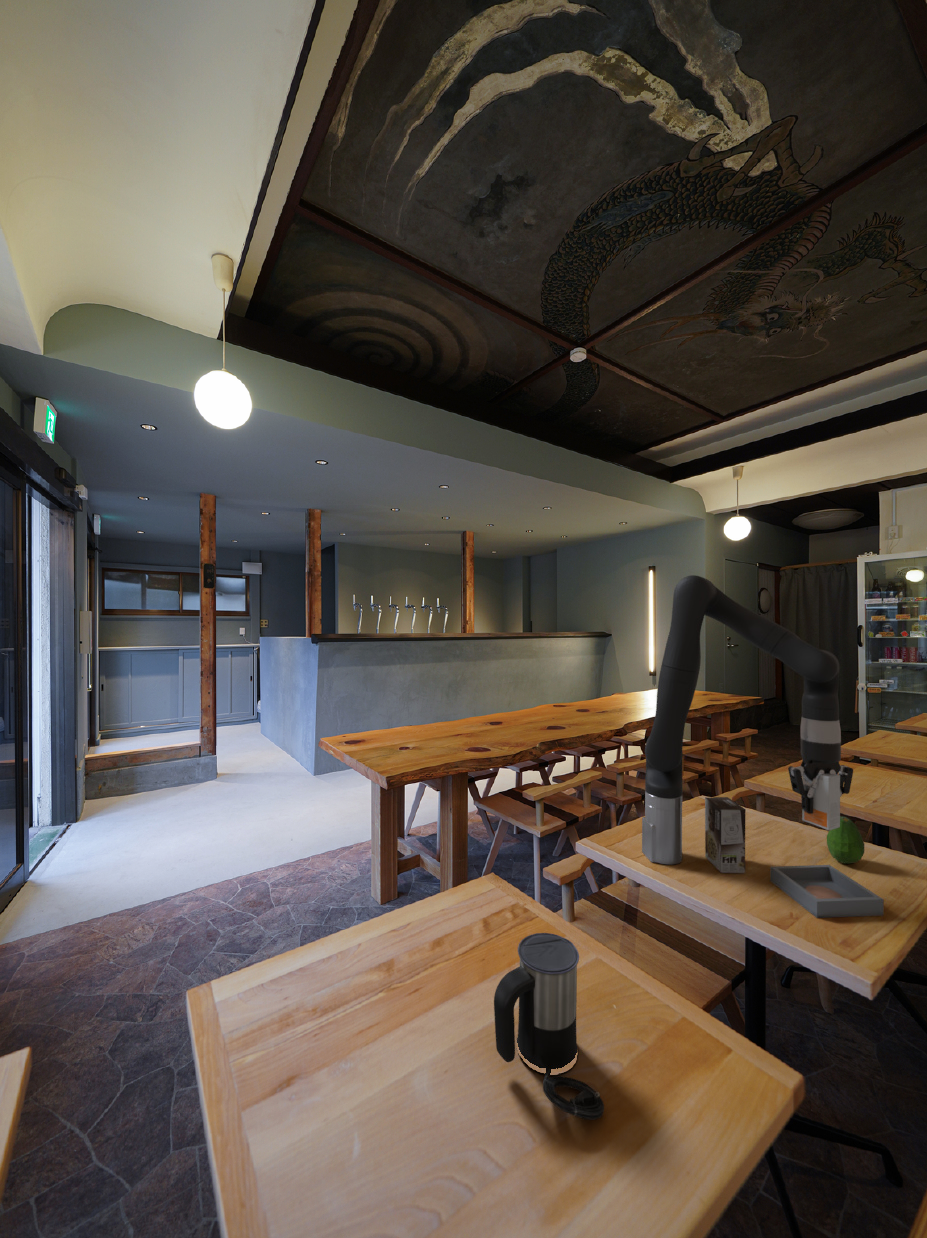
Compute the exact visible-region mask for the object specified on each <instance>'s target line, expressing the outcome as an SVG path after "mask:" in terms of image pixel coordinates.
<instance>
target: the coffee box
mask: <svg viewBox="0 0 927 1238" xmlns="http://www.w3.org/2000/svg"><path fill="white" fill-rule="evenodd" d="M704 804H705V805H704V831H705V833H704V836H705V837H704V839H705V841H704V844H705V845H704V846H705V847H704V852H705V854H704V856H705V858H706V859H707V860H708V861H709V863H711V864H712V865H713V866H714V867H715V868H716V869H717V871H719V872H720V873H721V874H723V873H724V874H725V873H726V874H745V873H746V813H747V812H746V808H744V807H743V806H741V805H740V804H738V803H737V802H735V801H734V800H732V798H730V797H727V796H714V797H705V798H704Z"/></svg>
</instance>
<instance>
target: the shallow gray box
mask: <svg viewBox="0 0 927 1238" xmlns="http://www.w3.org/2000/svg"><path fill="white" fill-rule="evenodd" d="M769 868H770V872H769V875H770V878H769V880H770V882H771V883H772V884H774V885H775V886H776V887H778V889H780V890H781V891H782V892H784V893H785V894H786V895H787V896H789V897H790V898H791V899H792V900H794V901H795V902H796V903H797V904H798V905H800V906H802V908H803V909H804V910H806V911H808V912H809V913H811V915H813V916H814V917H815V918H816V919H822V918H823V919H824V918H846V917H847V918H848V917H850V918H851V917H872V916H873V917H876V916H877V917H878V916H884V898H882V897H880V896H879V895H878V894H876V893H874V891H871V890H870V889H868V888H866V887H865V886H863V885H862V884H861V883H859V882H857V881H856V880H854V879H853V878H851V877H849V876H848V875H846V874H844V873H843V872H841V871H840V870H838V869H836V868H835V867H833V866H832V865H831V864H816V865H815V864H814V865H813V864H812V865H811V864H810V865H809V864H808V865H782V866H776V865H775V866H770V867H769Z"/></svg>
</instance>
